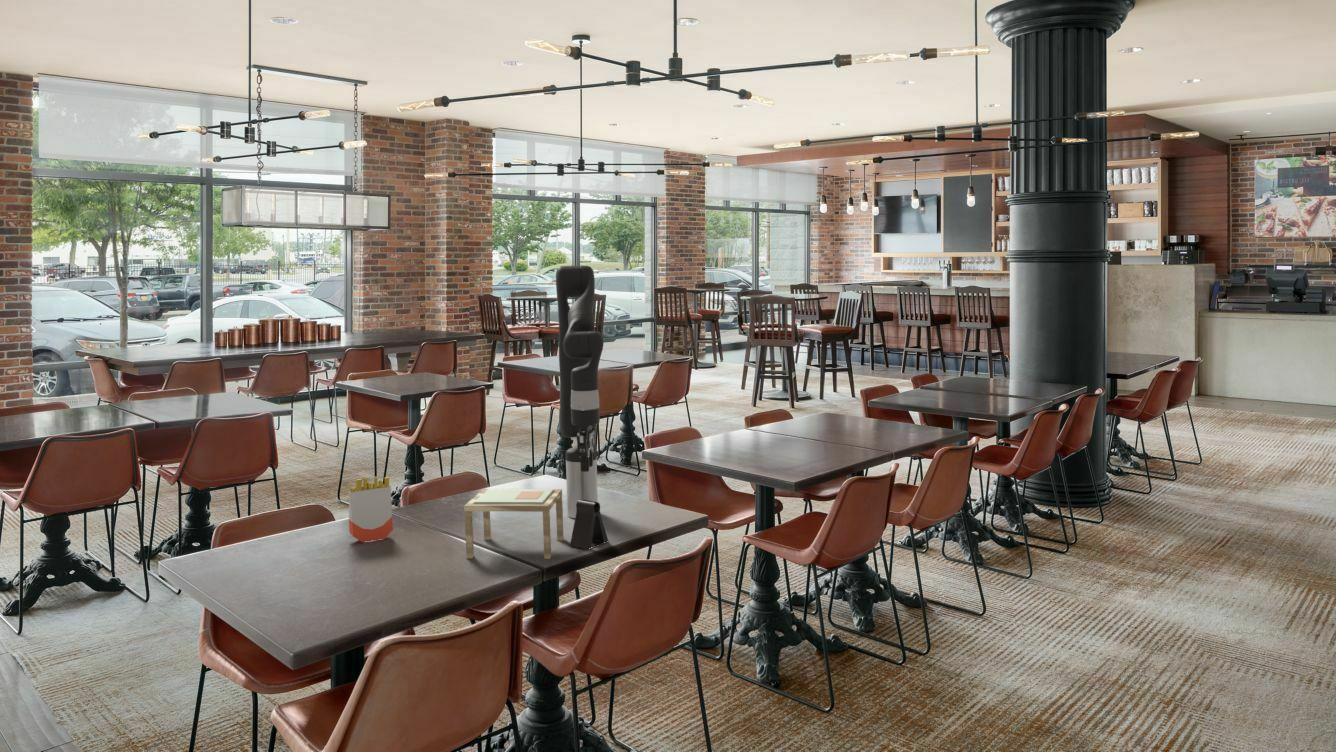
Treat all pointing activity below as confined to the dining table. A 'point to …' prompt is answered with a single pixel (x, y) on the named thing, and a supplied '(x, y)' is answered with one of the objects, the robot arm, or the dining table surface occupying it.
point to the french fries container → (370, 510)
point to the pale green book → (514, 496)
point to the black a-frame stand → (588, 526)
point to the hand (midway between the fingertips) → (586, 468)
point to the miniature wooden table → (486, 509)
